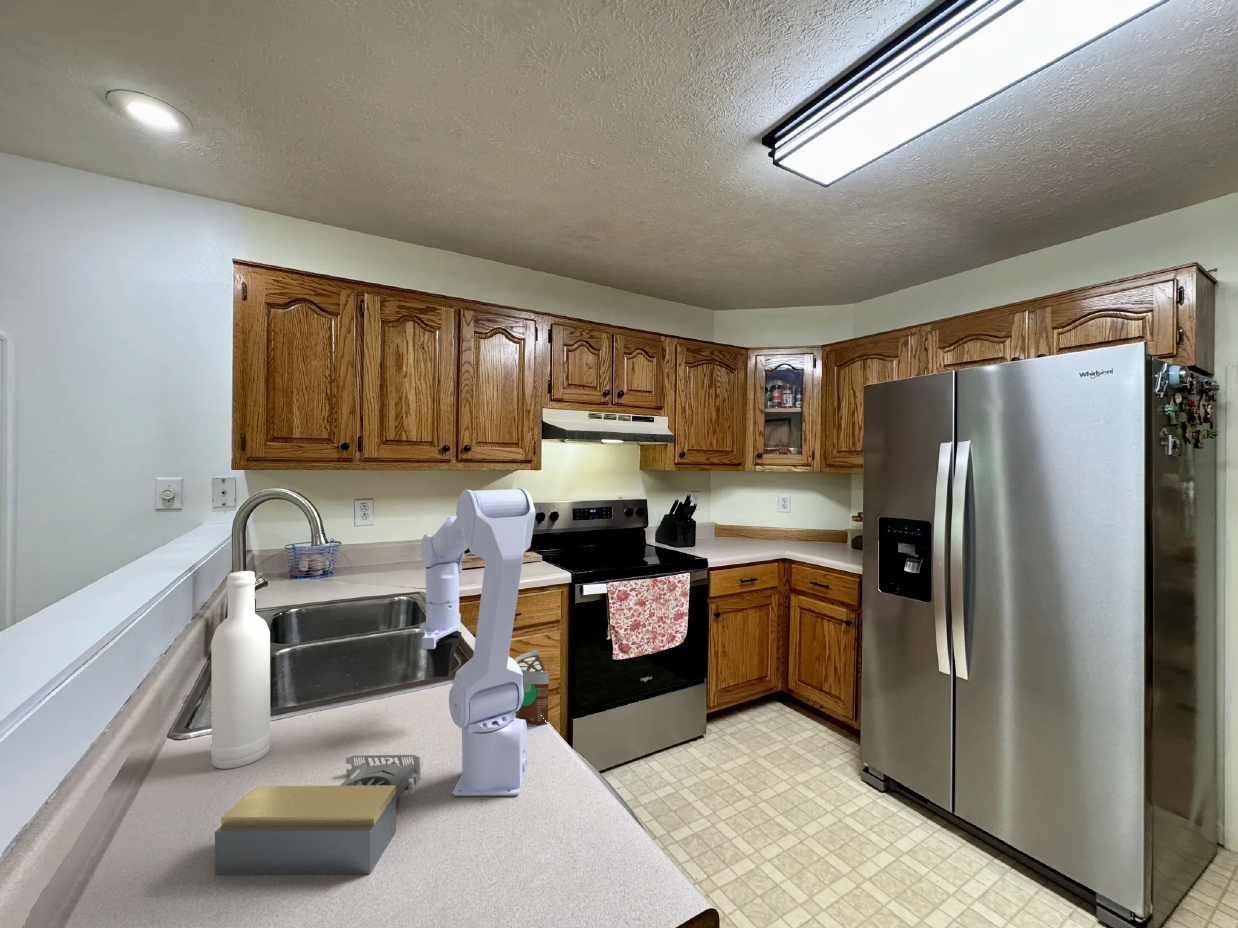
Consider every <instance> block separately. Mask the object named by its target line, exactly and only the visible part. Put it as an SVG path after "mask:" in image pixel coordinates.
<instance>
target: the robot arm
mask: <svg viewBox="0 0 1238 928" xmlns="http://www.w3.org/2000/svg"><path fill="white" fill-rule="evenodd" d="M455 513H456V515H455V516H449V517H448V518H447V520H446V521H445V522H443V524H442V525H441V527H439V528H438V530H437V531H436V532H435V533H434V534H430V533H429V534H428V533H427V534H424V535H423V536H422V538H421V542H420V557H421V562H422V565H423V567H424V568H425V622H423V623H421V624H420V625H419V630H420V631H424V635H423V637H422V642H421V643H422V644H421V645H422V646H421V647H422V650H426V651H427V653H428V654H429V656H430V659H431V662H432V665H433V670H434V673H435V676H436V678H439V677H440V678H447V677H449V675H450V674H451V672H452V667H453V662H454V658H455V657H454V656H455V652H456V649H457V646H458V643H459V641H460V639H461V637H462V632H461V631H459V630H460V628H461V613H460V574H462V571H463V561H464V559H465V557H464V556H465V551H466V550H467V549H469V553H470V554H471V555H473V556H476V557H478V558H480V559H483V561H484V562H485V563H484V570H483V571H484V572H483V578H482V586H481V593H480V594H481V595H480V601H479V609H478V610H479V611H478V617H477V625H476V633H475V639H474V640H475V641H474V649H473V655H472V657H471V658H470V659H469V660H468V661H467V662H465V663H464V664H463V665H462V666H461V667H460V668H458V669H457V670H456V671H455V676H454V679H453V683H452V686H451V687H450V690H449V693H448V706H449V713H450V715H451V716H450V717H451V719H452V721H453V723H454V725H456V726H457V727H458V729H461V753H462V754H461V762H462V763H461V775H460V777H459V779H458V781H457V782H456V785H455V787H454V788H453V791H452V795H453V796H461V797H462V796H463V797H464V796H472V797H473V796H474V797H475V796H518V795H519V794H520V791H521V788H522V785H523V782H524V779H525V776H526V772H527V769H528V765H529V763H528V727H527V724H528V723H526V720H524V719H519V718H518V717H516V712H517V711H518V710H519V709H520V707H521V705H522V702H523V697H524V691H523V673H522V671H521V669H520V667H519V665H518V664H517V662H516V661H515V659H514V658H512V657H511V656H510V648H511V644H512V643H511V642H512V636H513V629H514V623H515V616H516V608H517V604H518V603H517V602H518V595H519V589H520V581H521V575H522V568H523V561H524V553H525V552H526V551H528V550H529V549H530V548H531V545H532V544H531V543H532V538H533V532H534V526H535V521H536V520H535V519H536V508H535V505H534V501H533V498H532V496H531V494H530V493H529V491H528V490H527V489H526V488H524V487H519V488H511V489H507V488H506V489H487V490H486V489H485V490H484V489H483V490H480V489H478V490H471V489H464V490H463V491H462V492H461V493H460V495H459V496H458V498H457V502H456V510H455Z"/></svg>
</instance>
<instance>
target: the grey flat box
mask: <svg viewBox="0 0 1238 928" xmlns="http://www.w3.org/2000/svg"><path fill="white" fill-rule="evenodd" d="M220 823H221V826H220V827H218V828H217V829H216V830H215V831H214V876H245V875H246V876H251V875H253V876H256V875H257V876H258V875H259V876H260V875H261V876H263V875H264V876H267V875H268V876H272V875H273V876H275V875H276V876H277V875H279V876H280V875H285V876H287V875H289V876H290V875H294V876H295V875H304V876H306V875H309V876H310V875H371V873H372V872H373V870H374V869H375V867H376V866H377V864H378V862H379V861H380V860H381V859H380V858H381V857H382V855H383V853H385V850H386V849H387V848H388V846H389V844H390V842H391V841H392V839H393V837H394V836H395V834H396V833H397V800H396V785H370V786H340V785H256V786H255V787H253V789H252V790H251V791H250V792H248V793H247V794H246V795H245V796H244V797H243V798H241V799H240V800H239V801H238V802H237V803H236V804H235V805H234V806H233V807H231V808H230V809H229V810H228V811H226V813H224V814H223V815H222V816H221V820H220Z"/></svg>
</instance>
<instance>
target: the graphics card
mask: <svg viewBox="0 0 1238 928" xmlns="http://www.w3.org/2000/svg"><path fill="white" fill-rule="evenodd" d="M396 758H397V760H396ZM423 758H424V752H422V753H421V754H420V756H418V755H417V754H351V756H350V757H346V758H345V764H346V765H350V766H351V768H346V769H345V773H346V775H349V776H348V777H347V778H346V779H345V780H344V781H343V782H342V783H341V784H340V785H339V786H370V785H396V801H397V800H398V799H399V808H398V809H399V810H400V809H401V808H402V806H403V805H404V803H405V802H406V800H408V798H409V796H410V795H411V794H412V792H413V791H414V789H415V788H416V787H417V785H418V784H419V782H421V780H422V775H423V774H424V772H425V771H424V759H423ZM370 759H371V761H372V763H373V764H371V762H370ZM376 759H377V760H378V762H379V764H377V760H376ZM382 759H384V761H385V763H383V761H382ZM391 759H392V760H393V761H392V762H390V761H391ZM397 761H398V762H397ZM388 762H390V763H388Z"/></svg>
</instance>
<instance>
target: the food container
mask: <svg viewBox="0 0 1238 928" xmlns="http://www.w3.org/2000/svg"><path fill="white" fill-rule="evenodd" d="M514 660H515V661H516V662H517V664H518V665H519V667H520V669H521V671H522V673H523V691H524V697H523V702H522V705H521V707H520V709H519V710H518V711H516V712H517V714H516V715H517V718H518V719H524V720H526V724H528V725H529V724H530V725H536V726H537V725H539V726H541V725H542V726H543V725H548V724H547V723H546V722H548V723H549V684H550V675H549V671H548V670H546V669H545V666H544V663H543V661H542V660H541V657H540V650H533V651H529V652H526V653H523V654H520V655H519V656H517V657H516V658H515V659H514ZM541 715H542V716H541ZM543 718H544V719H543ZM545 720H546V722H545Z"/></svg>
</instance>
